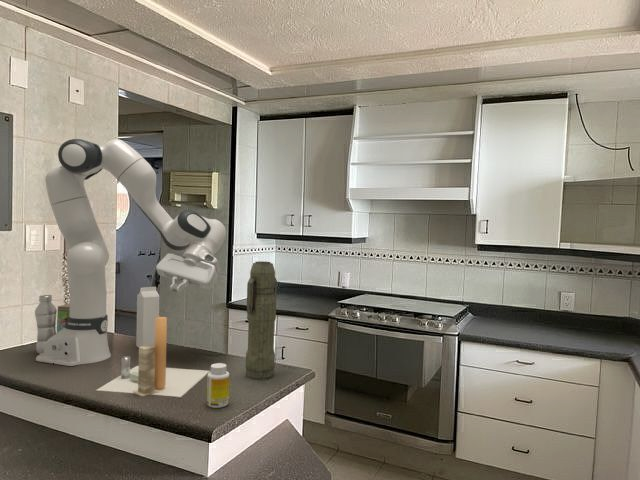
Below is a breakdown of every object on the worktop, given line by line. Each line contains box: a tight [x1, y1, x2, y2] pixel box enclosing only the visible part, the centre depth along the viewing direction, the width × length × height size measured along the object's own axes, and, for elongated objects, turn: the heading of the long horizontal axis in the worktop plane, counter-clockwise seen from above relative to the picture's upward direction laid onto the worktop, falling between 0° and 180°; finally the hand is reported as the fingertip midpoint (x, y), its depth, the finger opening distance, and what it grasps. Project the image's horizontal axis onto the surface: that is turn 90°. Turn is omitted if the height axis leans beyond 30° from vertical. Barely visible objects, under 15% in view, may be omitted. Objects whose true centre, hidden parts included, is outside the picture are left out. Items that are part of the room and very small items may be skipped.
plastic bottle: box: [34, 294, 58, 355], centre depth 163 cm, size 6×7×20 cm
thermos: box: [245, 260, 278, 381], centre depth 147 cm, size 9×12×35 cm
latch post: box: [132, 345, 160, 398], centre depth 129 cm, size 5×5×13 cm
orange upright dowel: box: [129, 316, 168, 388], centre depth 135 cm, size 14×3×19 cm, turn 58°
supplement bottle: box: [206, 362, 230, 409], centre depth 123 cm, size 6×6×10 cm
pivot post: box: [120, 355, 131, 379], centre depth 140 cm, size 2×2×6 cm
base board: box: [96, 365, 211, 399], centre depth 139 cm, size 24×22×1 cm
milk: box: [135, 286, 160, 348], centre depth 175 cm, size 6×6×22 cm
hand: (174, 290), depth 152 cm, fingers closed
